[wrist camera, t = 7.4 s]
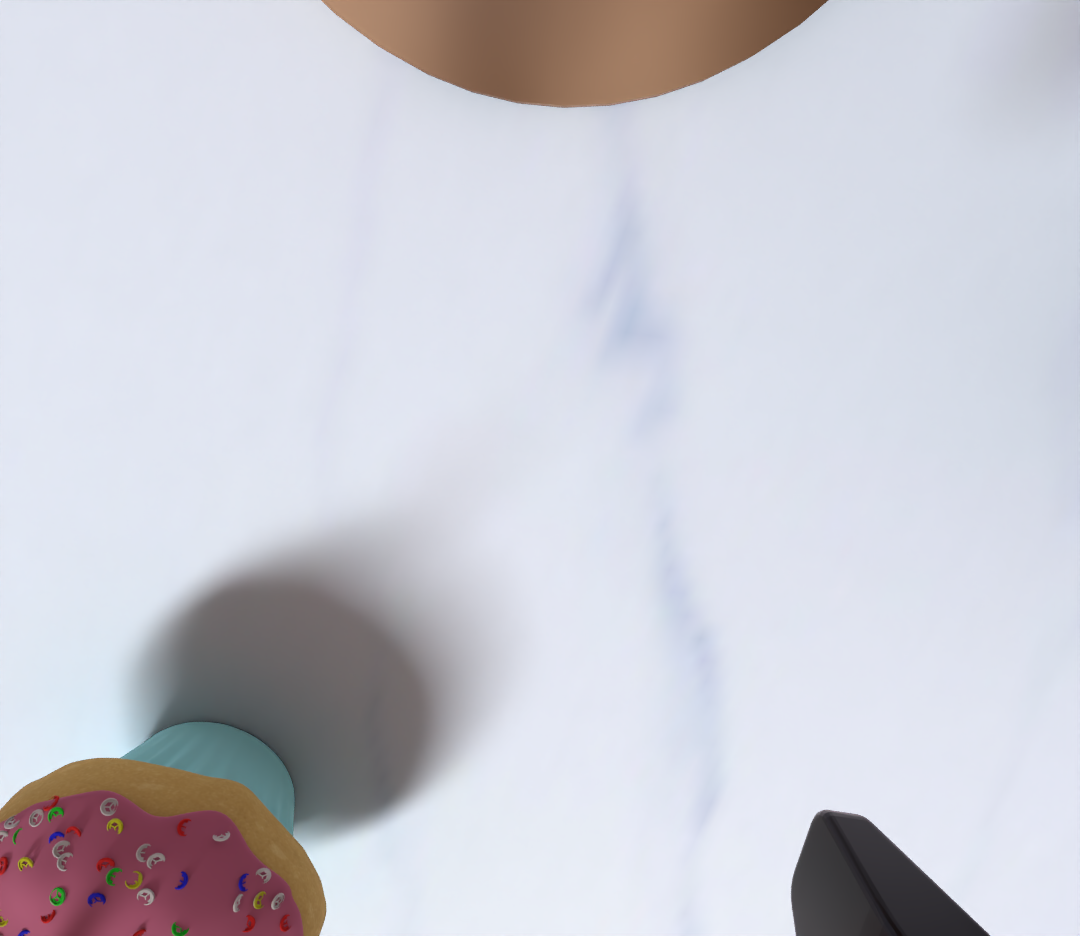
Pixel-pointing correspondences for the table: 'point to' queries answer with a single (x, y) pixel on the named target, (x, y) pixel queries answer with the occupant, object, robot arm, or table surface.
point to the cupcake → (160, 844)
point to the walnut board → (573, 43)
